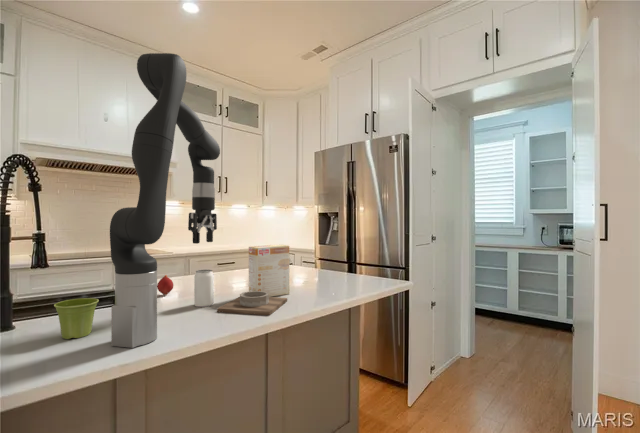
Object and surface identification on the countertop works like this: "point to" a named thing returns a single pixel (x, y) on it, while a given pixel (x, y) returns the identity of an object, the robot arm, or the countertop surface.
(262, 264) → the coffeecake box
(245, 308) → the board
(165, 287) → the onion
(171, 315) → the countertop surface
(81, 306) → the plant pot
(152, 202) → the robot arm
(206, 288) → the can
